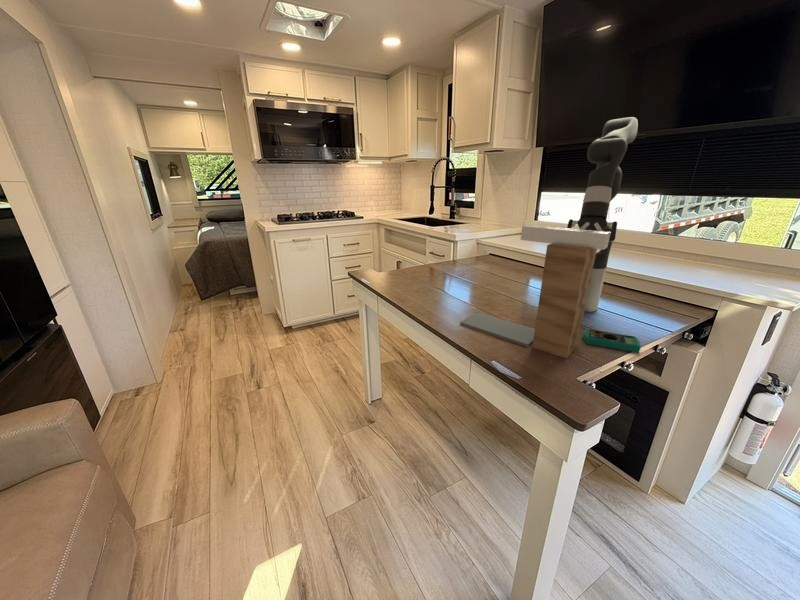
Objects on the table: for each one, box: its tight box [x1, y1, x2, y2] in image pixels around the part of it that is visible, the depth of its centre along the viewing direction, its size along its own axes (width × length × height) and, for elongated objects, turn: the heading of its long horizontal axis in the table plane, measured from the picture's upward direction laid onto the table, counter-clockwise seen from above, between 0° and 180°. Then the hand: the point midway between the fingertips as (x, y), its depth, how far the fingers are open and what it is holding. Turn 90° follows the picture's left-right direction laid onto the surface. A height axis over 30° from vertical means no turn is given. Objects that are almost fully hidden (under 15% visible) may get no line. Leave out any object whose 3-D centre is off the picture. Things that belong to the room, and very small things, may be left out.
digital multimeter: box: [582, 328, 641, 354], centre depth 102 cm, size 7×15×3 cm, turn 63°
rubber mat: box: [459, 312, 535, 348], centre depth 113 cm, size 12×25×1 cm, turn 46°
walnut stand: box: [531, 243, 598, 359], centre depth 95 cm, size 10×10×32 cm
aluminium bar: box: [520, 224, 611, 250], centre depth 91 cm, size 4×22×4 cm, turn 46°
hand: (586, 252), depth 107 cm, fingers open, 8 cm apart
